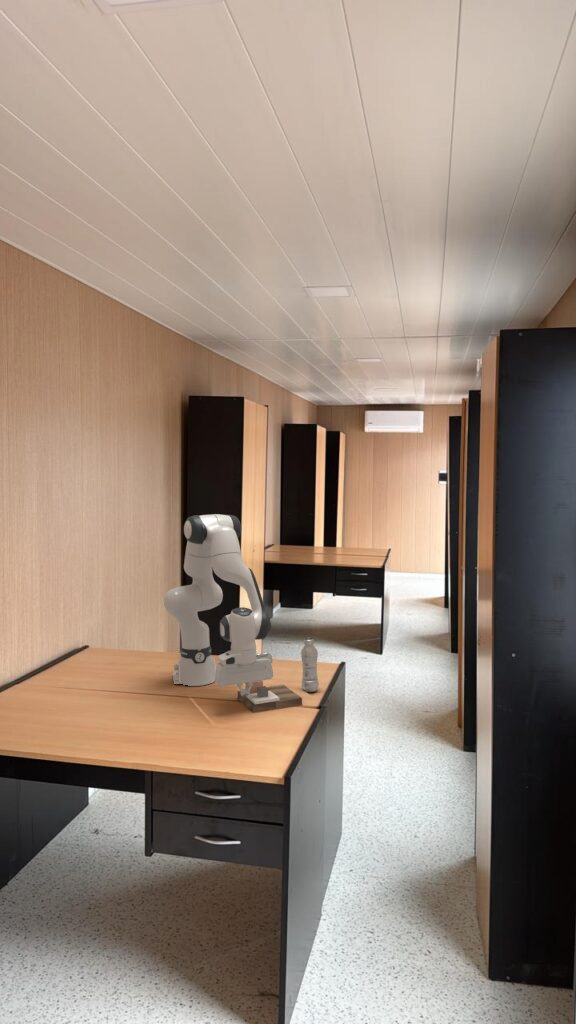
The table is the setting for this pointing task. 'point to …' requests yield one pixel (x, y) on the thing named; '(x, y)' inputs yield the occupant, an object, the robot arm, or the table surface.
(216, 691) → the table surface
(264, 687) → the lid
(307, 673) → the plastic bottle
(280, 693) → the board
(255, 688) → the block
